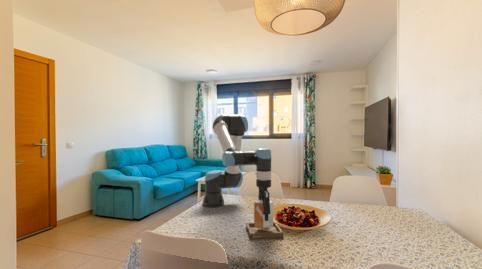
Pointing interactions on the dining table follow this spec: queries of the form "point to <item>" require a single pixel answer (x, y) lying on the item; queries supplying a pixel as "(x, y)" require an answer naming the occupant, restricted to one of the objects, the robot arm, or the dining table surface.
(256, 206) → the small box
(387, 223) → the dining table surface
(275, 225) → the tray
